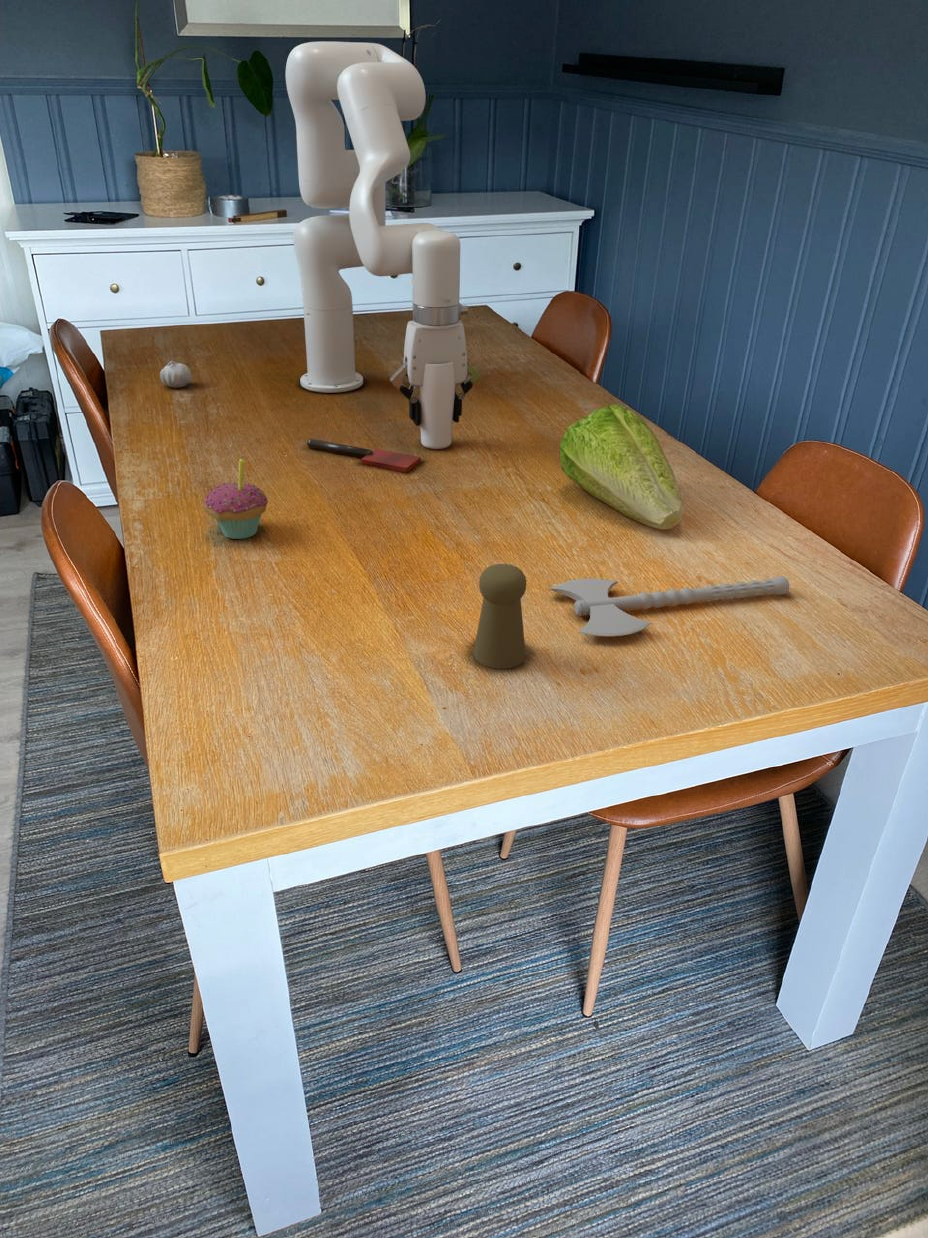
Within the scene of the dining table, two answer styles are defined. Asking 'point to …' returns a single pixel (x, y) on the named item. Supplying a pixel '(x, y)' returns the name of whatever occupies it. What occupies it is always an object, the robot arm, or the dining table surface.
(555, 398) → the dining table surface
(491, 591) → the chess pawn
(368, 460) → the spatula
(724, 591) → the axe
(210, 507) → the cupcake
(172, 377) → the garlic
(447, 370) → the drinking glass
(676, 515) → the lettuce
